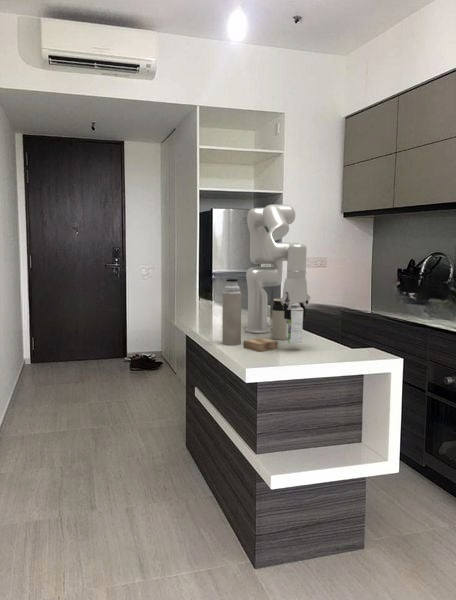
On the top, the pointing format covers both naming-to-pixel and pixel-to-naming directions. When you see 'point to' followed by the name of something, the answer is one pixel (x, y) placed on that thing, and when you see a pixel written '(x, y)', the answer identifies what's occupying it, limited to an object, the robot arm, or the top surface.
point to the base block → (260, 344)
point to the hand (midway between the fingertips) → (294, 317)
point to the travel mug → (278, 321)
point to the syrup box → (295, 325)
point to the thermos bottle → (231, 313)
